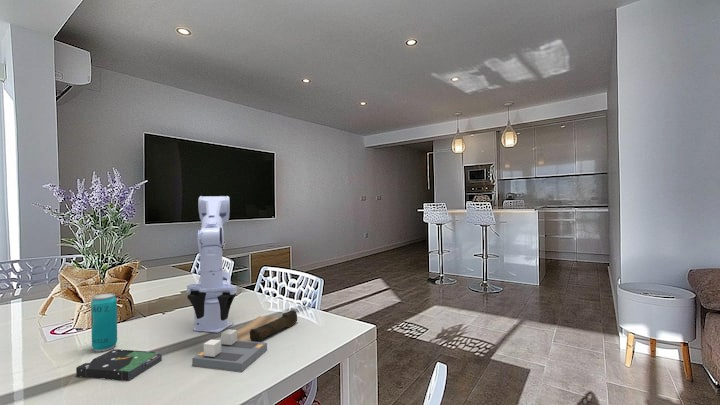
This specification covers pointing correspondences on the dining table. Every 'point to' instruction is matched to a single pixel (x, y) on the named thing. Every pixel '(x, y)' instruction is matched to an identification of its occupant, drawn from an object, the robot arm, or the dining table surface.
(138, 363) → the disk drive
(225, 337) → the switch tab
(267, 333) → the dark brown log
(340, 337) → the dining table surface
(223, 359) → the grey flat block
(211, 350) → the white cube
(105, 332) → the beverage can
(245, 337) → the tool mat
